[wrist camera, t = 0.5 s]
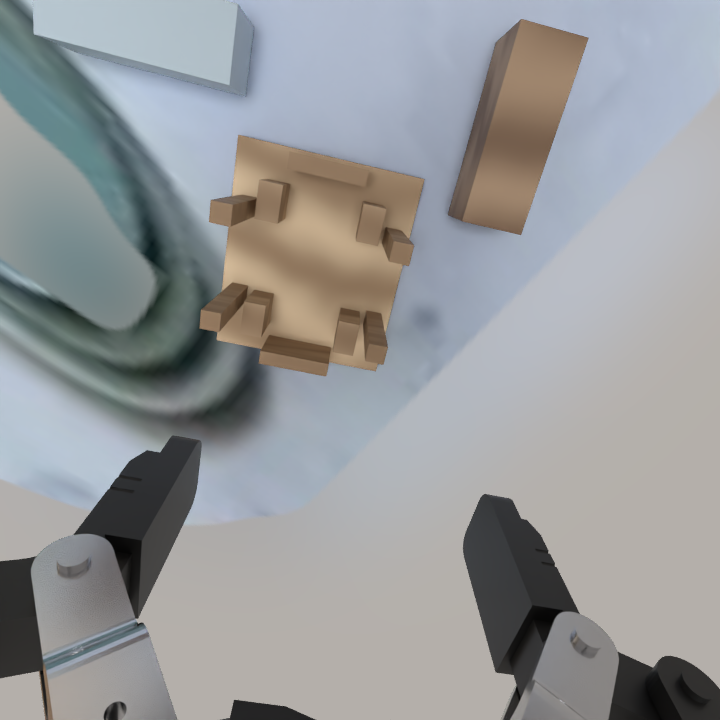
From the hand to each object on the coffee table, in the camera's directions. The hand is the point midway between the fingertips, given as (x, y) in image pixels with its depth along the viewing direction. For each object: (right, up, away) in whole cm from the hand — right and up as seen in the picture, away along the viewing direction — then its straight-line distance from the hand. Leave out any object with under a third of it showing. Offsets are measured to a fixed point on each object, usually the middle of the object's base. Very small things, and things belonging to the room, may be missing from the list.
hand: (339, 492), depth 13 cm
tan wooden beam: (+10, +19, +19) cm, 29 cm away
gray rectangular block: (-12, +24, +17) cm, 32 cm away
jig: (-3, +11, +22) cm, 25 cm away
